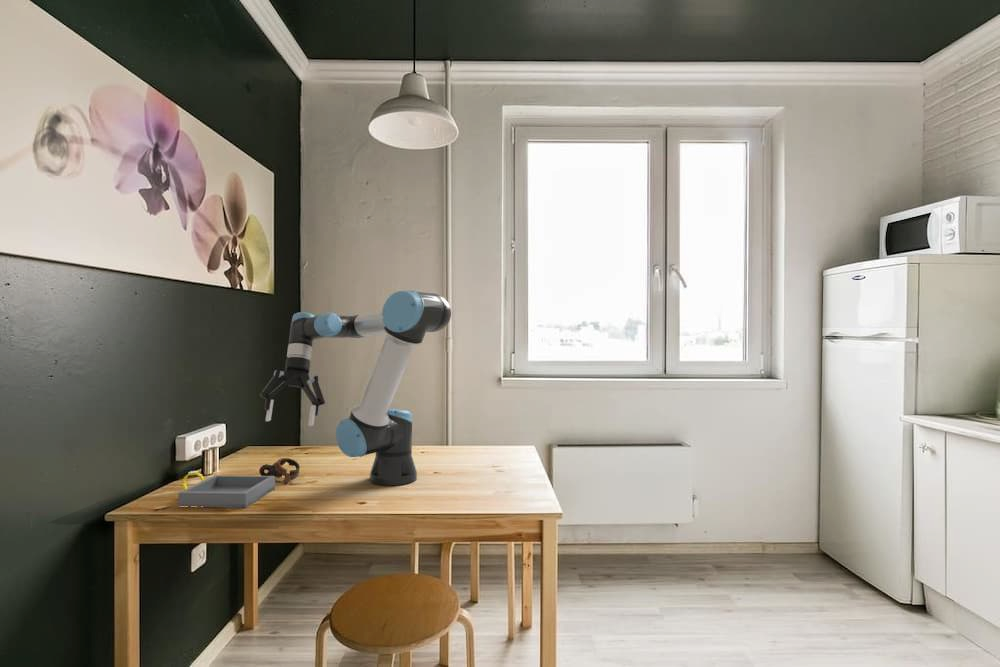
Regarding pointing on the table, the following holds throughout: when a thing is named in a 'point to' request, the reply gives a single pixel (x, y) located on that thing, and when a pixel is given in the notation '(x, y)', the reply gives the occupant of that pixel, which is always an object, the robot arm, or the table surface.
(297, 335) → the robot arm
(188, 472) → the watch
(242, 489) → the tray
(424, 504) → the table surface
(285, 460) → the broken clay jug
